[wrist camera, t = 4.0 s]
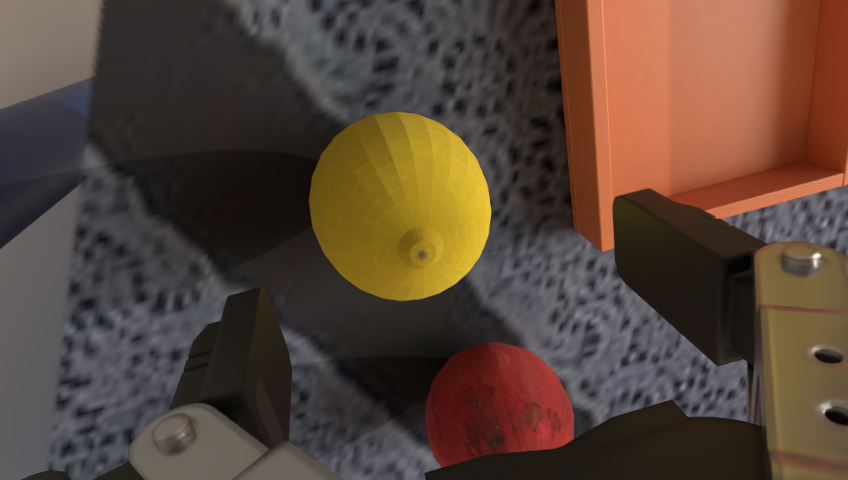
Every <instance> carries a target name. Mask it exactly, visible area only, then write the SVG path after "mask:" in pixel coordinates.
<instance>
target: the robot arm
mask: <svg viewBox="0 0 848 480" xmlns="http://www.w3.org/2000/svg"><path fill="white" fill-rule="evenodd" d="M612 214H613V233H614V252H615V262H616V266H617V270H618V272H619V274H620V276H621V278H622V280H623V281H624V282H625V284H626V285H628V286H629V287H630V288H631V289H632V290H633V291H634V292H635V293H636V294H638V295H639V296H640V297H641V298H642V299H643V300H644V301H645V302H647V303H648V304H649V305H650V306H651V307H652V308H653V309H654V310H655V311H657V312H658V313H659V314H660V315H661V316H662V317H663V318H664V319H665V320H667V321H668V322H669V323H670V324H671V325H672V326H673V327H674V328H675V329H677V330H678V331H679V332H680V333H681V334H682V335H683V336H684V337H686V338H687V339H688V340H689V341H690V342H691V343H692V344H693V345H694V346H696V347H697V348H698V349H699V350H700V351H701V352H702V353H703V354H704V355H706V356H707V357H708V358H709V359H710V360H711V361H712V362H713V363H714V364H716V365H717V366H721V365H725V364H728V363H732V362H735V361H738V360H742V359H744V360H746V361H747V374H746V395H747V422H745V421H739V420H733V419H728V418H717V417H687V416H686V415H685V413H684V412H683V411H682V410H681V409H680V408H679V407H678V406H677V405H676V403H675V402H674V401H673V400H669V401H665V402H662V403H659V404H655V405H652V406H648V407H645V408H642V409H638V410H635V411H632V412H628V413H625V414H622V415H618V416H615V417H612V418H610V419H609V420H607V421H605V422H603V423H602V424H600V425H598V426H596V427H595V428H593V429H591V430H589V431H588V432H586V433H584V434H582V435H581V436H579V437H577V438H575V439H574V440H572V441H570V442H568V443H567V444H565V445H563V446H561V447H558V448H554V449H545V450H533V451H521V452H509V453H497V454H487V455H483V456H480V457H477V458H473V459H470V460H466V461H463V462H460V463H456V464H453V465H450V466H446V467H443V468H439V469H436V470H433V471H429V472H426V473H425V478H426V480H848V259H847V258H846V257H845V256H844V255H843V254H841V253H840V252H838V251H836V250H834V249H832V248H829V247H826V246H823V245H819V244H814V243H807V242H781V243H775V244H771V245H768V244H767V243H765V242H763V241H761V240H759V239H757V238H755V237H753V236H751V235H750V234H748V233H746V232H744V231H742V230H740V229H738V228H736V227H735V226H730V225H729V223H727V222H725V221H723V220H721V219H720V218H718V219H716V216H714V215H712V214H710V213H708V212H706V211H704V210H703V209H701V208H699V207H694V206H690V205H686V204H682V203H678V202H674V201H672V200H671V199H669V198H667V197H665V196H663V195H661V194H660V193H658V192H656V191H654V190H652V189H650V188H646V189H642V190H639V191H635V192H631V193H627V194H623V195H619V196H616V197H615V198H614V200H613V205H612ZM188 357H189V359H187V361H186V364H185V367H184V372H183V373H182V376H181V379H180V382H179V384H178V387H177V390H176V393H175V396H174V399H173V402H172V405H171V408H170V411H168V412H166V413H164V414H162V415H161V416H159V417H157V418H156V419H154V420H153V421H152V422H150V423H149V424H148V425H147V426H146V427H144V428H143V429H142V430H141V431H140V432H139V434H138V435H137V436H136V437H135V439H134V440H133V442H132V444H131V446H130V449H129V453H128V457H129V461H128V462H126V463H125V464H123V465H121V466H119V467H118V468H116V469H114V470H112V471H110V472H108V473H106V474H104V475H102V476H100V477H98V478H96V479H94V480H343V479H342V478H340V477H339V476H337V475H336V474H335V473H333V472H332V471H330V470H329V469H327V468H326V467H325V466H323V465H322V464H320V463H319V462H317V461H316V460H315V459H313V458H312V457H310V456H309V455H307V454H306V453H305V452H303V451H302V450H300V449H299V448H298V447H296V446H295V445H293V444H292V443H290V442H288V441H289V421H290V402H291V382H292V368H291V361H290V356H289V352H288V349H287V346H286V343H285V340H284V337H283V334H282V332H281V329H280V326H279V323H278V321H277V318H276V315H275V312H274V310H273V307H272V304H271V301H270V299H269V296H268V294H267V292H266V290H265V289H264V288H263V287H261V288H257V289H253V290H249V291H245V292H241V293H238V294H234V295H230V296H228V297H227V300H226V304H225V307H224V311H223V314H222V318H221V321H218V322H215V323H211V324H208V325H207V326H206V327H205V328H204V329H203V331H202V332H201V333H200V334H199V335H198V336H197V337H196V338H195V339H194V341H193V344H192V347H191V350H190V353H189V355H188ZM22 480H71V479H70V477H69V476H68V475H67V474H66V473H64V472H61V471H45V472H41V473H37V474H34V475H32V476H29V477H27V478H24V479H22Z"/></svg>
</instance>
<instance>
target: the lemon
mask: <svg viewBox="0 0 848 480" xmlns="http://www.w3.org/2000/svg"><path fill="white" fill-rule="evenodd" d="M309 206H310V213H311V220H312V226H313V230H314V232H315V234H316V237H317V239H318V241H319V243H320V246H321V248H322V250H323V252H324V254H325V256H326V257H327V258H328V259H329V261H330V262H331V263H332V264H333V265H334V267H335V268H336V269H337V270H338V272H339V273H340V274H341V275H342V276H343V277H344V278H346V279H347V280H348V281H350V282H351V283H353V284H354V285H355V286H357V287H358V288H360V289H361V290H363V291H366V292H368V293H371V294H373V295H376V296H378V297H381V298H385V299H392V300H399V301H405V300H416V299H422V298H426V297H429V296H432V295H435V294H438V293H440V292H442V291H444V290H446V289H447V288H449V287H451V286H453V285H454V284H456V283H457V282H458V281H459V280H460V279H461V278H462V277H463V276H465V275H466V274H467V273H468V272H469V271H470V270H471V268H472V267H473V265H474V264H475V262H476V261H477V259H478V258H479V257H480V255H481V253H482V250H483V248H484V245H485V243H486V240H487V237H488V234H489V227H490V218H491V206H490V199H489V192H488V186H487V183H486V180H485V178H484V175H483V173H482V170H481V168H480V166H479V163H478V161H477V159H476V157H475V156H474V155H473V154H472V152H471V151H470V150H469V149H468V147H467V146H466V145H465V144H464V142H463V141H462V140H461V139H460V138H459V137H458V136H457V135H455V134H454V133H453V132H451V131H450V130H448V129H447V128H446V127H444V126H443V125H442V124H440V123H439V122H436V121H433V120H431V119H428V118H426V117H423V116H421V115H418V114H413V113H403V112H387V113H381V114H374V115H371V116H368V117H366V118H363V119H361V120H359V121H356V122H354V123H352V124H351V125H349V126H348V127H347V128H346V129H344V130H343V131H342V132H340V133H339V134H338V135H336V136H335V137H334V139H333V140H332V141H331V143H330V144H329V145H328V147H327V148H326V149H325V151H324V152H323V153H322V154H321V157H320V159H319V161H318V164H317V166H316V169H315V171H314V173H313V176H312V181H311V189H310V196H309Z"/></svg>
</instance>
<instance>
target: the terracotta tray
mask: <svg viewBox="0 0 848 480" xmlns="http://www.w3.org/2000/svg"><path fill="white" fill-rule="evenodd" d="M555 11H556V23H557V35H558V47H559V59H560V71H561V83H562V94H563V106H564V118H565V130H566V142H567V154H568V166H569V178H570V189H571V201H572V213H573V225H574V229H575V230H576V231H577V232H579V233H580V234H581V235H582V236H583V237H585V238H586V239H587V240H588V241H589V242H591V243H592V244H593V245H594V246H595V247H597V248H598V249H599V250H600V251H606V250H610V249H614V233H613V214H612V205H613V200H614V198H615V197H616V196H619V195H623V194H627V193H631V192H635V191H639V190H642V189H646V188H650V189H652V190H654V191H656V192H658V193H660V194H661V195H663V196H665V197H667V198H669V199H671V200H672V201H674V202H678V203H682V204H686V205H690V206H694V207H699V208H701V209H703V210H704V211H706V212H708V213H710V214H712V215H714V216H716V219H718V218H720V219H723V218H727V217H730V216H734V215H738V214H741V213H745V212H749V211H752V210H756V209H760V208H763V207H767V206H770V205H774V204H778V203H781V202H785V201H789V200H792V199H796V198H800V197H803V196H807V195H811V194H814V193H818V192H822V191H825V190H829V189H832V188H836V187H840V186H844V185H848V0H555Z"/></svg>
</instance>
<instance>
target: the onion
mask: <svg viewBox="0 0 848 480" xmlns="http://www.w3.org/2000/svg"><path fill="white" fill-rule="evenodd" d="M425 423H426V428H427V433H428V438H429V443H430V446H431V449H432V452H433V455H434V457H435V459H436V460H437V462H438V463H439V464H440V466H441V467H442V468H443V467H446V466H450V465H453V464H456V463H460V462H463V461H466V460H470V459H473V458H477V457H480V456H483V455H487V454H497V453H509V452H521V451H533V450H545V449H554V448H558V447H561V446H563V445H565V444H567V443H568V442H570V441H572V440H573V433H574V414H573V410H572V405H571V402H570V400H569V398H568V396H567V394H566V392H565V390H564V388H563V386H562V384H561V383H560V381H559V379H558V377H557V375H556V373H555V372H554V371H553V370H552V369H551V368H550V367H549V366H548V365H547V364H546V363H545V362H544V361H542V360H541V359H540V358H538V357H537V356H536V355H534V354H533V353H532V352H530V351H529V350H526V349H523V348H519V347H516V346H512V345H507V344H503V343H499V342H491V343H484V344H476V345H471V346H470V347H468V348H466V349H464V350H462V351H461V352H459V353H457V354H455V355H453V356H451V357H450V358H449V360H448V361H447V362H446V363H445V365H444V366H443V367H442V369H441V370H440V371H439V373H438V374H437V375H436V377H435V379H434V380H433V382H432V384H431V387H430V391H429V395H428V400H427V404H426V413H425Z"/></svg>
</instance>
